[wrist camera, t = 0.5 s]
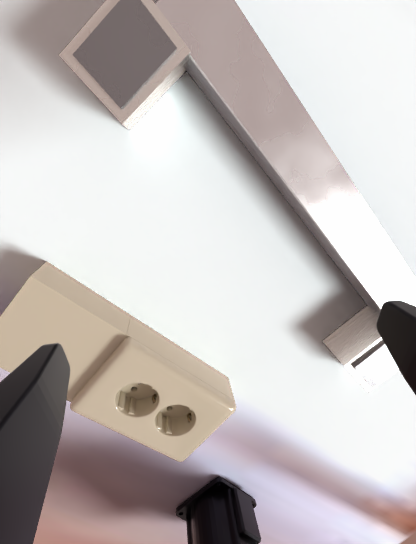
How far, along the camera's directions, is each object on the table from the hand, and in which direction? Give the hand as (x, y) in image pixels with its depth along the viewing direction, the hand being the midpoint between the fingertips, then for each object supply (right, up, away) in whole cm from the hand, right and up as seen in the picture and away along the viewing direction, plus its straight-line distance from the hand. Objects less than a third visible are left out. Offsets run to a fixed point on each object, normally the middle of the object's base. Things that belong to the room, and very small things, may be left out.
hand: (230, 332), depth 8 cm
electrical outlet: (-8, -5, +17) cm, 19 cm away
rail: (+5, +6, +14) cm, 16 cm away
